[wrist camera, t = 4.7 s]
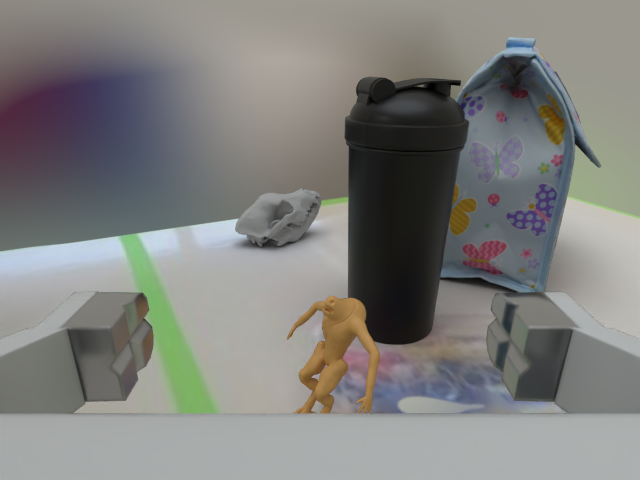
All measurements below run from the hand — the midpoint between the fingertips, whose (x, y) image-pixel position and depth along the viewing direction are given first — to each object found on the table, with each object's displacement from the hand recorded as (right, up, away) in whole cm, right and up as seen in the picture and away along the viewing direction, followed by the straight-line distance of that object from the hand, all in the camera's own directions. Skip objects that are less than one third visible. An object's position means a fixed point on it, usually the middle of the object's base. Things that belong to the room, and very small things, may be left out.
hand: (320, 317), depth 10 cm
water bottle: (+7, -6, +34) cm, 35 cm away
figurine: (0, -13, +18) cm, 22 cm away
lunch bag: (+23, -1, +48) cm, 54 cm away
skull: (-6, +2, +53) cm, 54 cm away
